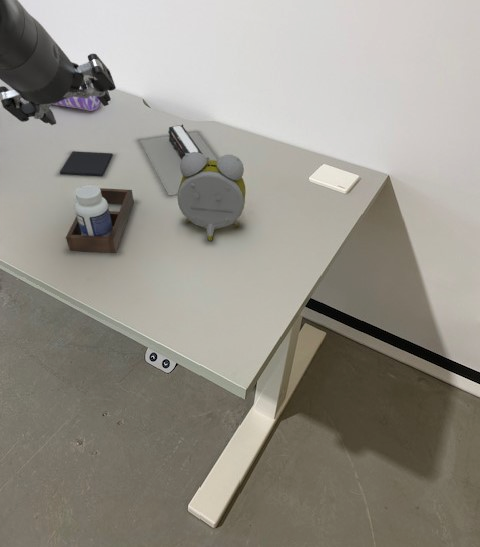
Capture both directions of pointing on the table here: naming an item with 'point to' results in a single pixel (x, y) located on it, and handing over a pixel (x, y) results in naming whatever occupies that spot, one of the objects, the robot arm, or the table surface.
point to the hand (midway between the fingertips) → (78, 109)
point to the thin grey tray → (173, 154)
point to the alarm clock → (211, 191)
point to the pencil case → (81, 102)
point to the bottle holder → (117, 218)
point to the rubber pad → (86, 163)
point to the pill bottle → (92, 212)
